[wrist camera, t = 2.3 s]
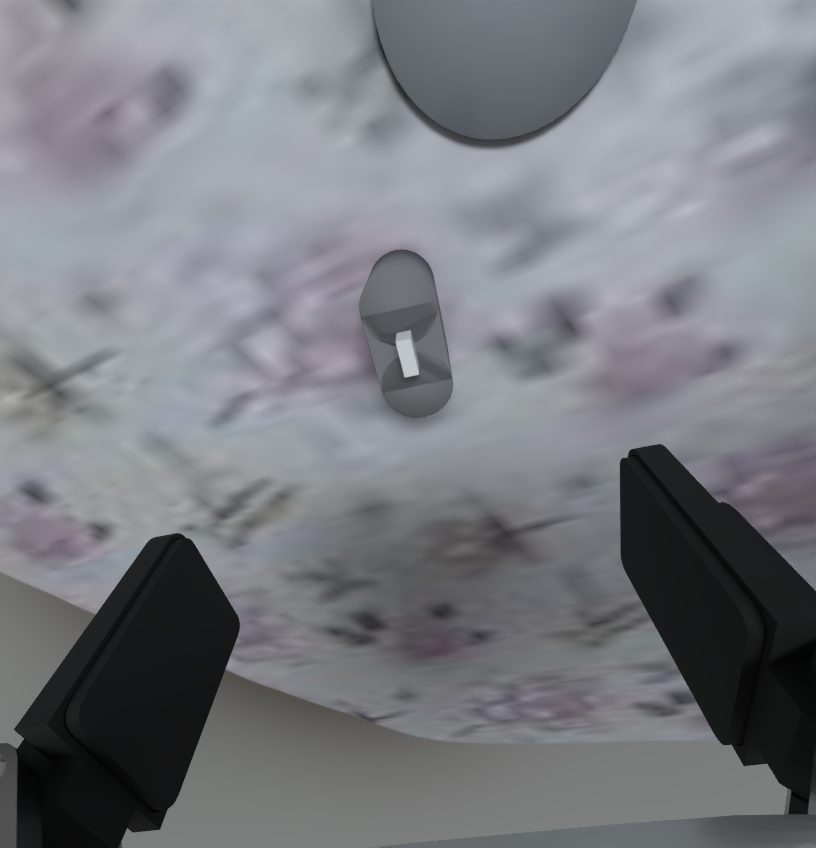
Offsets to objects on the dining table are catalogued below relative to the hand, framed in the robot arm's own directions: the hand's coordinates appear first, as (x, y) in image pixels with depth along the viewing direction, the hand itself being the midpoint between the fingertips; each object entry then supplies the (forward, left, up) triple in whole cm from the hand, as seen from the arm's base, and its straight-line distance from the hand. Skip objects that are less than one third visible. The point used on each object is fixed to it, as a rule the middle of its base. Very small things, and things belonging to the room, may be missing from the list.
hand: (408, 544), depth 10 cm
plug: (+1, 0, -19) cm, 19 cm away
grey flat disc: (-12, +7, -19) cm, 23 cm away
